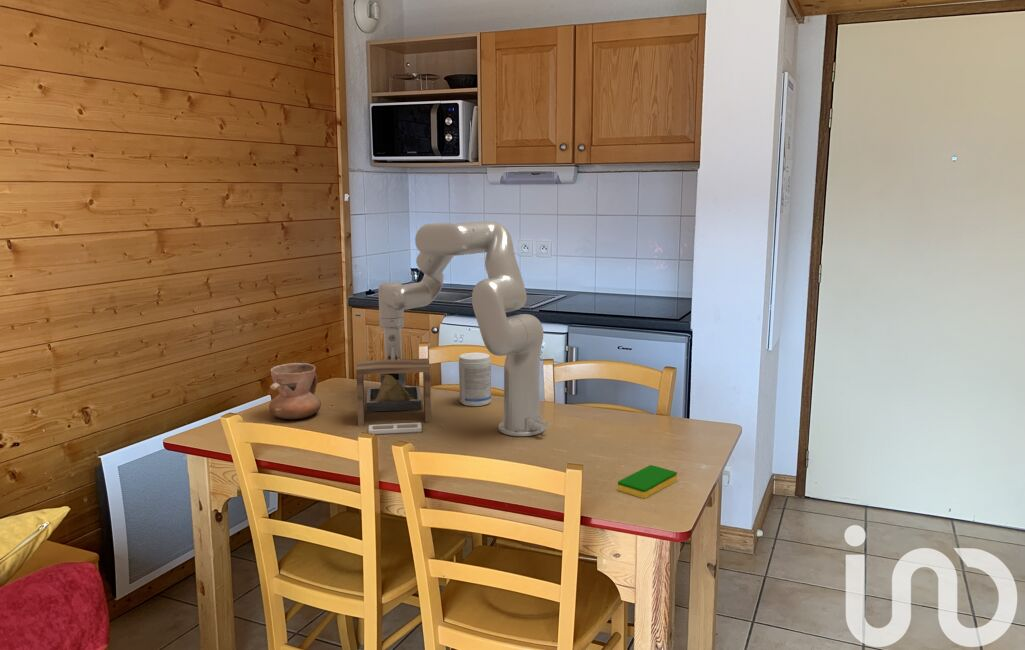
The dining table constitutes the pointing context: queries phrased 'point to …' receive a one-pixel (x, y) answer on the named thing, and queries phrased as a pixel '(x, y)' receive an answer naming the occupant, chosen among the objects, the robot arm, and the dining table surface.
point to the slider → (398, 403)
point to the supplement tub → (475, 379)
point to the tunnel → (389, 368)
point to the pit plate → (395, 428)
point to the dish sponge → (647, 481)
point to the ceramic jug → (294, 391)
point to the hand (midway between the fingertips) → (393, 379)
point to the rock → (392, 390)
